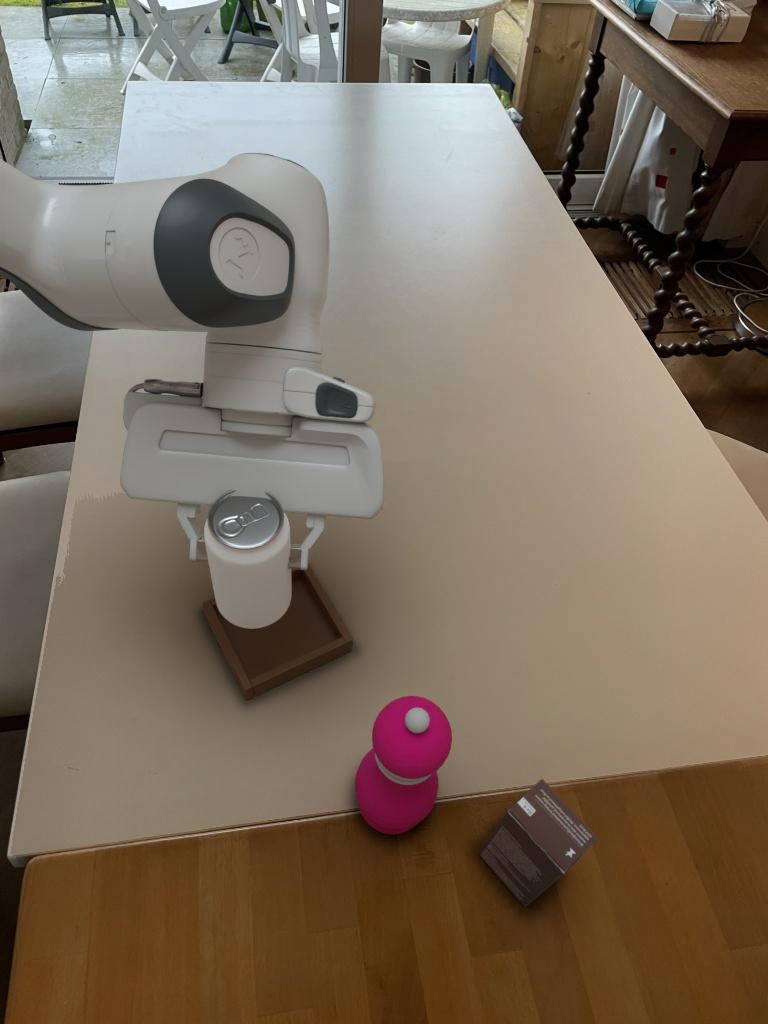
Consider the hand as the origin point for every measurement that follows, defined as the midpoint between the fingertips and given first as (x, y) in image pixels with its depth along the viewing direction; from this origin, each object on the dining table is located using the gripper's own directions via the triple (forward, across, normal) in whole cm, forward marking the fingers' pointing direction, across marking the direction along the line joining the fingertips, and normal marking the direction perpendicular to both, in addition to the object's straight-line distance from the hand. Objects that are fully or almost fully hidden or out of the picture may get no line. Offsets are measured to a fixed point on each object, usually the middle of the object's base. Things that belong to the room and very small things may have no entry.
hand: (250, 564), depth 62 cm
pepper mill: (+22, +14, +6) cm, 27 cm away
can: (+4, 0, +5) cm, 7 cm away
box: (+26, +25, +2) cm, 36 cm away
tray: (+11, +1, +17) cm, 20 cm away
